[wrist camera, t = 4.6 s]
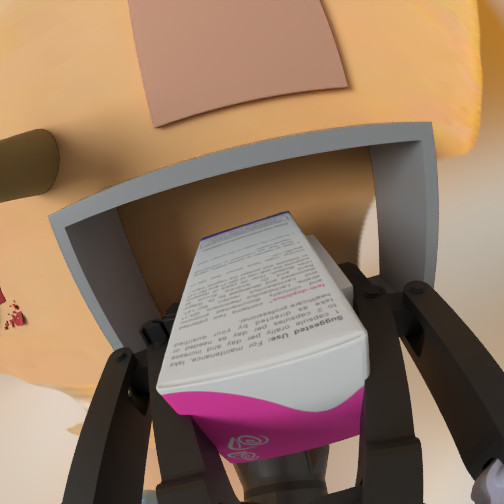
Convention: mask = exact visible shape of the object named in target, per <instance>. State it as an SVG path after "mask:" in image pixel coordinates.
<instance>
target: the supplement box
mask: <svg viewBox="0 0 504 504" xmlns="http://www.w3.org/2000/svg"><path fill="white" fill-rule="evenodd" d="M369 374H370V361H369V343H368V334H367V330H366V329H365V328H364V326H363V325H362V323H361V321H360V320H359V318H358V316H357V315H356V313H355V311H354V310H353V308H352V306H351V305H350V303H349V302H348V300H347V298H346V297H345V295H344V294H343V292H342V291H341V289H340V288H339V286H338V284H337V283H336V281H335V280H334V278H333V277H332V275H331V274H330V272H329V270H328V269H327V267H326V266H325V264H324V263H323V261H322V260H321V258H320V257H319V255H318V254H317V252H316V251H315V249H314V248H313V247H312V245H311V244H310V242H309V241H308V239H307V238H306V236H305V235H304V234H303V232H302V231H301V229H300V228H299V226H298V225H297V223H296V222H295V220H294V219H293V217H292V216H291V214H290V212H289V211H285V212H281V213H278V214H275V215H272V216H269V217H266V218H263V219H260V220H257V221H254V222H250V223H248V224H245V225H241V226H238V227H235V228H232V229H228V230H225V231H222V232H219V233H216V234H213V235H210V236H207V237H204V238H202V239H201V241H200V244H199V247H198V250H197V252H196V255H195V258H194V261H193V264H192V268H191V271H190V274H189V277H188V279H187V283H186V286H185V289H184V292H183V295H182V299H181V302H180V305H179V308H178V311H177V315H176V318H175V321H174V325H173V328H172V332H171V335H170V339H169V342H168V346H167V349H166V353H165V357H164V360H163V364H162V368H161V371H160V374H159V378H158V382H157V386H156V389H157V391H158V392H159V393H160V395H162V396H163V398H164V399H165V400H166V401H167V402H168V403H169V404H170V406H171V407H172V408H173V409H174V410H175V411H176V412H177V413H178V414H180V415H191V417H192V418H193V419H194V421H195V422H196V423H197V424H198V426H199V427H200V428H201V429H202V431H203V432H204V433H205V434H206V436H207V437H208V438H209V439H210V440H211V442H212V443H213V444H214V445H215V446H216V447H217V450H218V452H219V453H220V454H221V455H222V456H223V457H224V458H225V459H226V460H228V461H229V462H230V463H243V462H251V461H258V460H263V459H269V458H274V457H279V456H283V455H287V454H292V453H296V452H301V451H305V450H309V449H313V448H317V447H321V446H324V445H328V444H331V443H334V442H337V441H341V440H344V439H347V438H350V437H353V436H356V435H359V434H360V417H361V409H362V401H363V392H364V382H365V379H367V378H368V376H369Z"/></svg>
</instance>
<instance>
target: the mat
mask: <svg viewBox="0 0 504 504" xmlns="http://www.w3.org/2000/svg"><path fill="white" fill-rule="evenodd" d="M128 4H129V11H130V17H131V24H132V29H133V35H134V41H135V46H136V51H137V57H138V62H139V66H140V71H141V76H142V81H143V85H144V89H145V94H146V98H147V102H148V107H149V111H150V115H151V119H152V123H153V127H154V128H158V127H161V126H164V125H166V124H169V123H172V122H175V121H178V120H182V119H185V118H188V117H191V116H194V115H198V114H201V113H205V112H208V111H212V110H216V109H220V108H223V107H227V106H232V105H236V104H240V103H245V102H249V101H254V100H259V99H264V98H269V97H275V96H281V95H287V94H293V93H300V92H308V91H316V90H326V89H337V88H346V87H348V85H347V81H346V78H345V74H344V70H343V67H342V63H341V60H340V57H339V53H338V50H337V47H336V44H335V41H334V38H333V35H332V32H331V29H330V26H329V24H328V21H327V18H326V16H325V13H324V10H323V8H322V5H321V3H320V0H128Z"/></svg>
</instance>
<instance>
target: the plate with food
mask: <svg viewBox="0 0 504 504" xmlns="http://www.w3.org/2000/svg"><path fill="white" fill-rule="evenodd" d="M5 301H6V299H5V297H4V295H3V294H2V291H1V288H0V305H1V304H2V303H4V302H5ZM13 306H14V308H16V305H15V304H13ZM10 307H12V306H11V305H10ZM16 309H17V310H19V309H18V308H16ZM13 313H16V312H15V311H13ZM16 314H17V315H16V317H15V316H14V315H12V317H13V319H12V320H9V321H10V322H11V324H12V321H13V322H14V323H15V324H16V325H18V326H20V325H22V324H23V319H22V315H21V311H20V312H18V313H16ZM8 315H10V314H8ZM17 317H18V318H19V319H17ZM6 322H7V324H8V321H6ZM7 324H5V325H7ZM8 325H9V324H8ZM8 325H7V326H8ZM7 326H6V327H5V330H6V329H7V330H8V327H7ZM12 327H13V324H12Z"/></svg>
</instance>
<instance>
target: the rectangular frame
mask: <svg viewBox="0 0 504 504" xmlns="http://www.w3.org/2000/svg"><path fill="white" fill-rule="evenodd" d="M368 145H369V150H370V156H371V163H372V170H373V178H374V186H375V196H376V207H377V219H378V235H379V265H380V275H377V276H373V277H370V278H367V279H368V280H369V281H370V282H371V283H372V285H376V286H381V287H382V288H384V289H385V290H386V292H387V293H399V292H403V289H404V286H405V285H406V284H407V283H408V282H411V281H423V282H426V283H427V284H429V285H430V286H431V287H432V288H434V281H435V271H436V261H437V248H438V223H439V220H438V219H439V198H438V175H437V162H436V151H435V143H434V135H433V128H432V122H391V123H374V124H363V125H354V126H345V127H337V128H330V129H323V130H316V131H310V132H304V133H298V134H293V135H287V136H282V137H277V138H272V139H267V140H262V141H258V142H253V143H249V144H245V145H240V146H236V147H232V148H228V149H224V150H221V151H217V152H213V153H209V154H206V155H202V156H199V157H195V158H192V159H189V160H185V161H182V162H179V163H176V164H172V165H169V166H166V167H163V168H160V169H157V170H154V171H151V172H149V173H146V174H143V175H140V176H137V177H135V178H132V179H129V180H127V181H124V182H121V183H119V184H116V185H114V186H111V187H109V188H106V189H104V190H101V191H99V192H97V193H95V194H92V195H90V196H88V197H86V198H84V199H81V200H79V201H77V202H75V203H73V204H71V205H69V206H67V207H65V208H63V209H61V210H59V211H57V212H55V213H53V214H51V215H49V216H48V218H49V221H50V224H51V227H52V229H53V232H54V235H55V237H56V240H57V242H58V245H59V247H60V250H61V252H62V254H63V257H64V259H65V261H66V263H67V266H68V268H69V270H70V272H71V274H72V276H73V279H74V281H75V283H76V285H77V287H78V289H79V291H80V293H81V295H82V297H83V298H84V300H85V302H86V304H87V306H88V308H89V310H90V311H91V313H92V315H93V317H94V318H95V320H96V322H97V324H98V325H99V327H100V329H101V330H102V332H103V334H104V335H105V337H106V339H107V340H108V342H109V343H110V345H111V346H112V348H113V350H114V351H115V350H117V349H119V348H122V347H128V348H130V349H131V350H132V352H133V353H137V352H139V351H142V350H145V349H147V345H146V344H145V342H144V340H143V338H142V336H141V335H140V333H139V330H140V328H141V327H142V325H143V324H145V323H146V322H148V321H150V320H152V319H156V318H162V317H161V315H160V313H159V311H158V309H157V307H156V304H155V302H154V300H153V298H152V296H151V294H150V292H149V289H148V287H147V285H146V283H145V280H144V278H143V276H142V273H141V271H140V269H139V266H138V264H137V262H136V259H135V257H134V254H133V252H132V249H131V247H130V244H129V241H128V239H127V236H126V234H125V231H124V228H123V225H122V223H121V220H120V217H119V214H118V211H117V208H116V207H117V206H120V205H123V204H126V203H128V202H131V201H134V200H137V199H140V198H143V197H146V196H149V195H152V194H155V193H158V192H161V191H165V190H168V189H171V188H174V187H178V186H181V185H184V184H188V183H191V182H195V181H198V180H202V179H205V178H209V177H213V176H216V175H220V174H224V173H228V172H232V171H236V170H240V169H244V168H248V167H252V166H257V165H261V164H266V163H270V162H275V161H280V160H284V159H289V158H294V157H300V156H305V155H310V154H316V153H322V152H327V151H334V150H340V149H347V148H353V147H361V146H368Z"/></svg>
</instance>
